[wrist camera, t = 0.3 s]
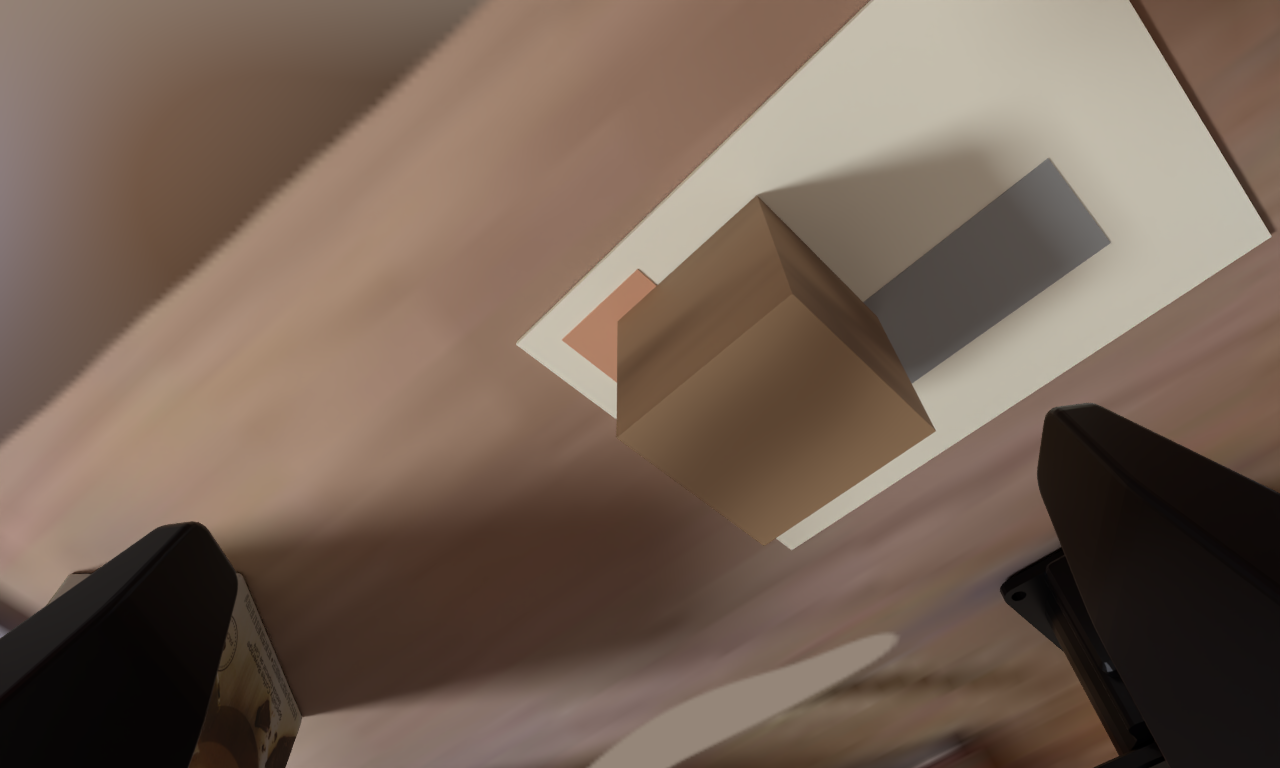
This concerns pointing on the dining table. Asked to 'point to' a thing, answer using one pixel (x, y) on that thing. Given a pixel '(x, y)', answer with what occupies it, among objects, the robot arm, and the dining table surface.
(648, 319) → the walnut block
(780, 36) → the dining table surface
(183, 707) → the robot arm
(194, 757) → the coffee box
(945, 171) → the letter
